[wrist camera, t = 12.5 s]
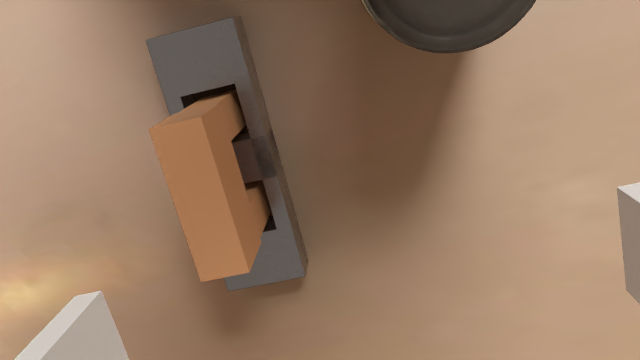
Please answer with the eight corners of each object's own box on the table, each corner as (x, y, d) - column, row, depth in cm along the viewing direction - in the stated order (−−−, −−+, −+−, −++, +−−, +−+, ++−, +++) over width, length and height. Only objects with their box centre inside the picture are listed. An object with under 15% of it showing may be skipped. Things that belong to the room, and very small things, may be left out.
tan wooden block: (199, 98, 46) (148, 129, 34) (239, 88, 45) (200, 116, 34) (236, 217, 49) (201, 282, 37) (274, 209, 48) (249, 272, 37)
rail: (158, 37, 44) (145, 40, 42) (240, 16, 44) (232, 17, 41) (235, 275, 51) (228, 291, 48) (307, 260, 50) (305, 276, 47)
